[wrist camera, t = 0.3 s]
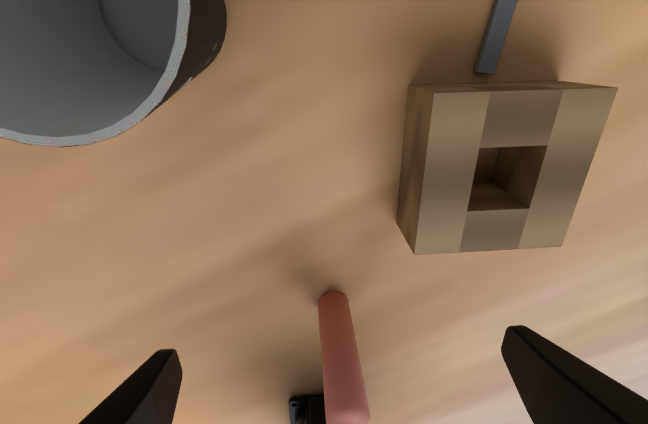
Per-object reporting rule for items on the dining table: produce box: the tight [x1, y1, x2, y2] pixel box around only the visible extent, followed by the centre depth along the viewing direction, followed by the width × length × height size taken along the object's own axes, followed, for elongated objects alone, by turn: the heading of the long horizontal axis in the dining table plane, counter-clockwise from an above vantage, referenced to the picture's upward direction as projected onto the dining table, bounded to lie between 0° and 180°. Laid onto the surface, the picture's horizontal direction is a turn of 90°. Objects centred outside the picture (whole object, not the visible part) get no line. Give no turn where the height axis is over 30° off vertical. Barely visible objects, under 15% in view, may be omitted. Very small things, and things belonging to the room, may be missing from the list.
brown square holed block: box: [396, 81, 618, 255], centre depth 19 cm, size 9×9×4 cm
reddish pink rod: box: [318, 292, 370, 424], centre depth 22 cm, size 2×2×9 cm
